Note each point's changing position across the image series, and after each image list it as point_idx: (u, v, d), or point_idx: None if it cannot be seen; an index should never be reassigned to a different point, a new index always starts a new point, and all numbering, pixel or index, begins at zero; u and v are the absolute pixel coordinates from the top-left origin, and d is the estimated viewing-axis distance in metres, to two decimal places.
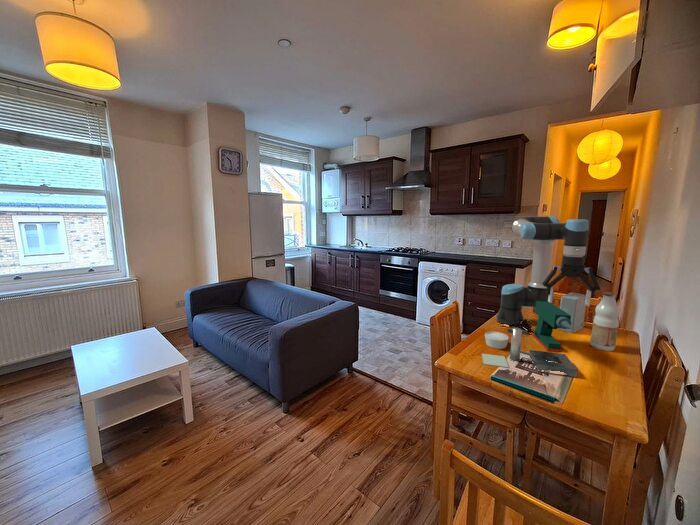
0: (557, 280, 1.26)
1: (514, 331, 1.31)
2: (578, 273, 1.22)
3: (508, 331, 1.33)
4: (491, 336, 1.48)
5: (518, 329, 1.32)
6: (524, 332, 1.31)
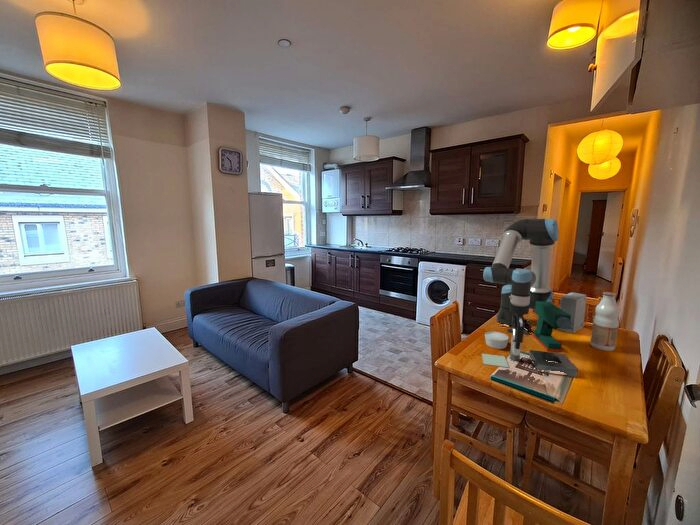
0: (513, 327, 1.35)
1: (514, 331, 1.31)
2: (514, 320, 1.31)
3: (508, 331, 1.33)
4: (491, 336, 1.48)
5: None
6: (524, 332, 1.31)
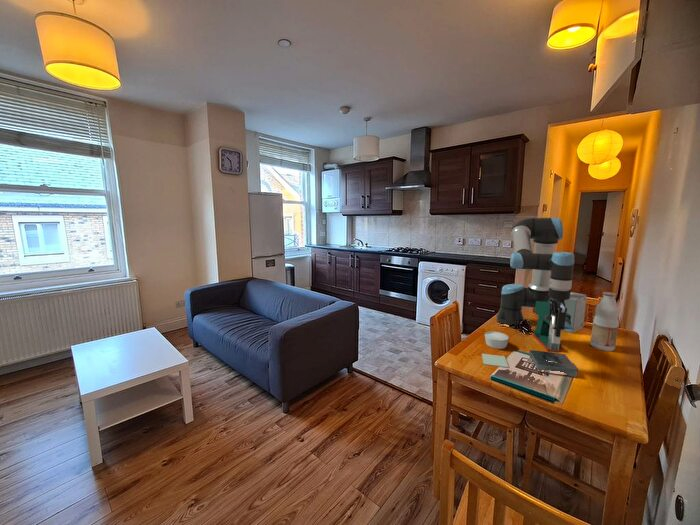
0: (551, 314, 1.27)
1: (553, 318, 1.24)
2: (554, 306, 1.23)
3: (547, 318, 1.25)
4: (491, 336, 1.48)
5: None
6: None
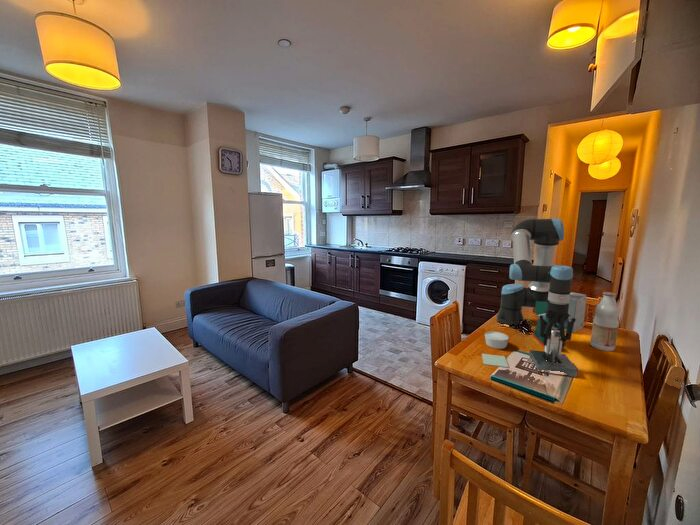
0: (549, 329, 1.25)
1: (560, 332, 1.24)
2: (561, 320, 1.23)
3: (559, 335, 1.22)
4: (491, 336, 1.48)
5: (555, 328, 1.26)
6: None
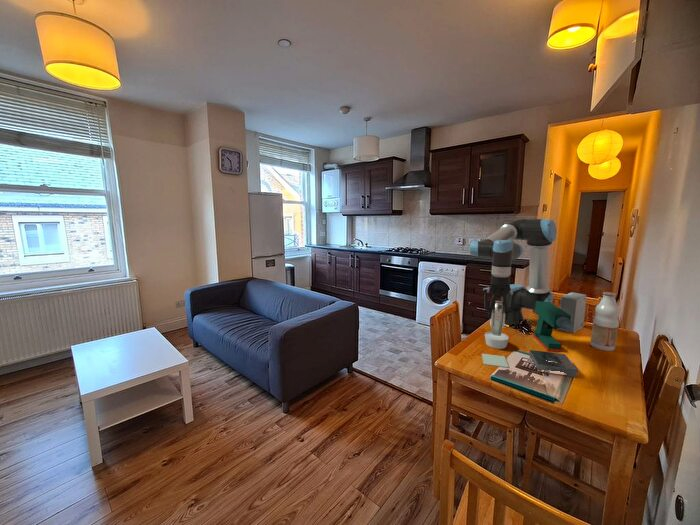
0: (493, 302, 1.29)
1: (502, 304, 1.27)
2: (503, 293, 1.26)
3: (501, 307, 1.26)
4: (491, 336, 1.48)
5: (499, 301, 1.29)
6: None
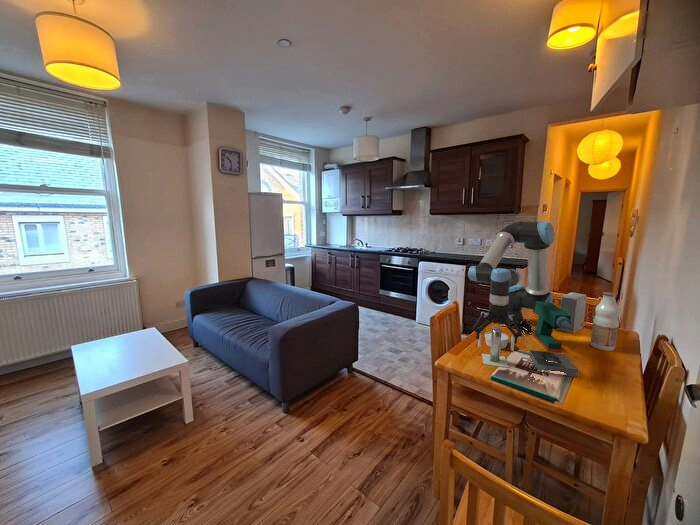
0: (484, 326, 1.32)
1: (500, 332, 1.30)
2: (502, 320, 1.28)
3: (499, 335, 1.28)
4: None
5: (497, 329, 1.32)
6: None
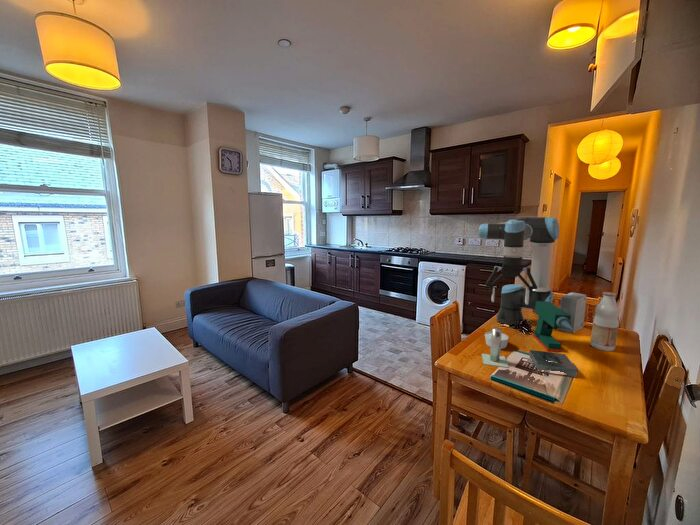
0: (498, 280, 1.30)
1: (500, 332, 1.30)
2: (517, 273, 1.26)
3: (499, 335, 1.28)
4: None
5: (497, 329, 1.32)
6: None
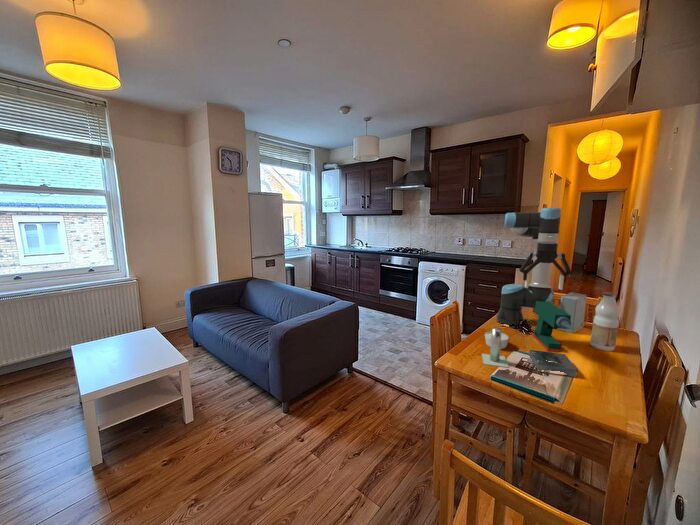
0: (533, 266, 1.33)
1: (500, 332, 1.30)
2: (552, 259, 1.29)
3: (499, 335, 1.28)
4: None
5: (497, 329, 1.32)
6: None
